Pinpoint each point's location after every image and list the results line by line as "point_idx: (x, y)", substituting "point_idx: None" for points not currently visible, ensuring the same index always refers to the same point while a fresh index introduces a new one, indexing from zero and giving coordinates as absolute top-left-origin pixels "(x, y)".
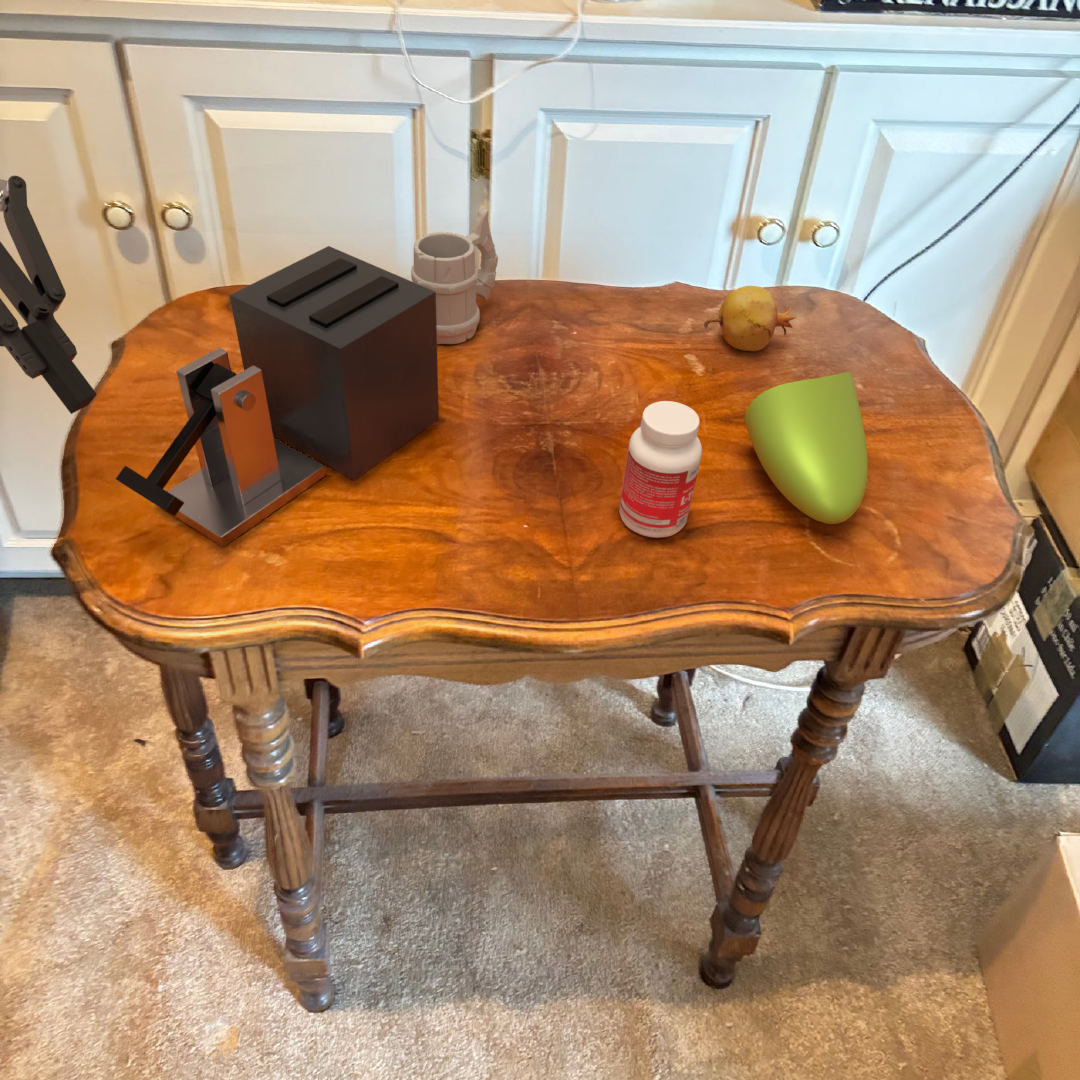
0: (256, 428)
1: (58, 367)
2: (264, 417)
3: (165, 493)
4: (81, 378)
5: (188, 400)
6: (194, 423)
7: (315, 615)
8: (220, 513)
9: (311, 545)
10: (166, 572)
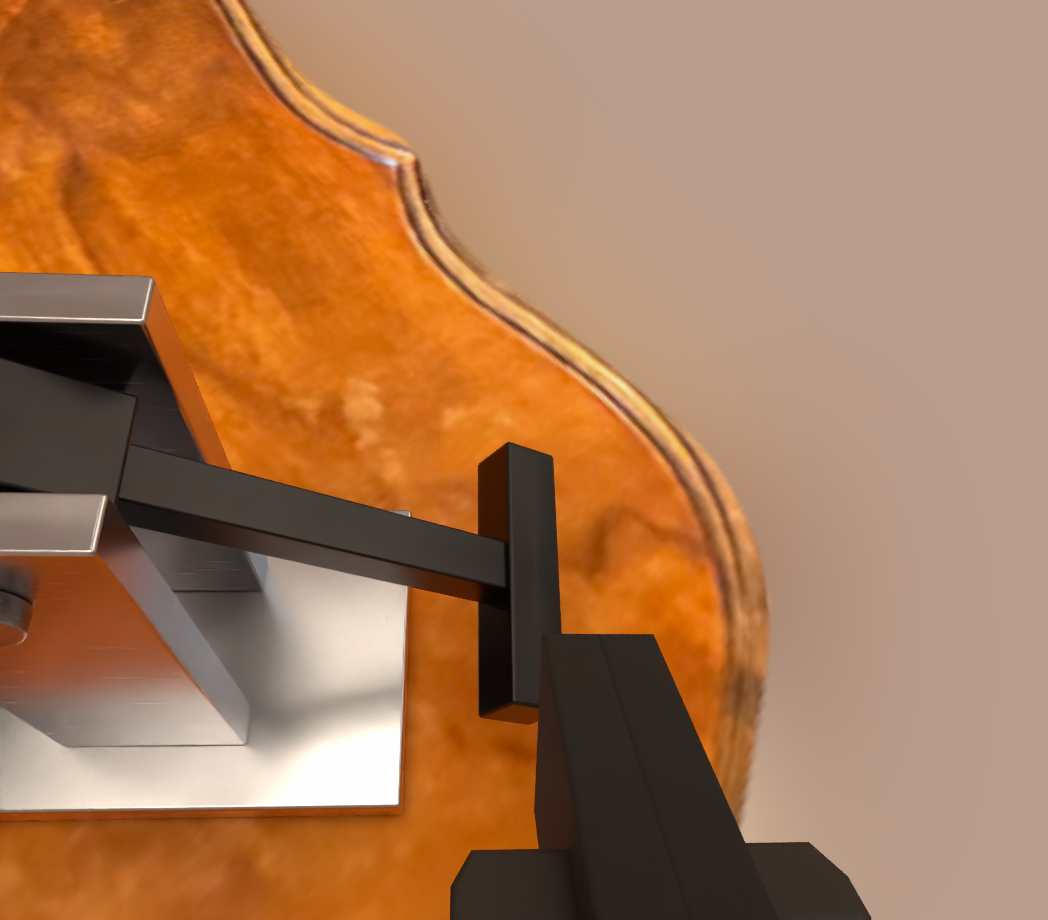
0: None
1: (675, 763)
2: None
3: (515, 478)
4: (574, 688)
5: (152, 578)
6: (247, 494)
7: (441, 239)
8: (335, 584)
9: (268, 371)
10: (573, 573)
